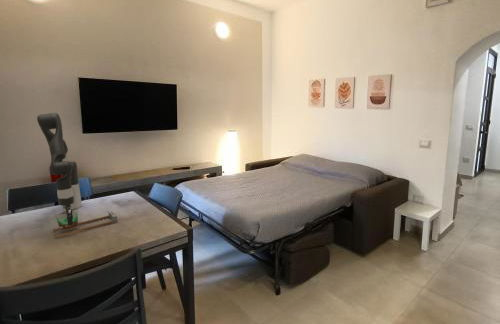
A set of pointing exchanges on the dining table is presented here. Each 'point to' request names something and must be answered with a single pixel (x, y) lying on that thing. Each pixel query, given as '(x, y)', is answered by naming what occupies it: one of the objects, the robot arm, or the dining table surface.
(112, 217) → the guide channel
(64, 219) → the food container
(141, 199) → the dining table surface
